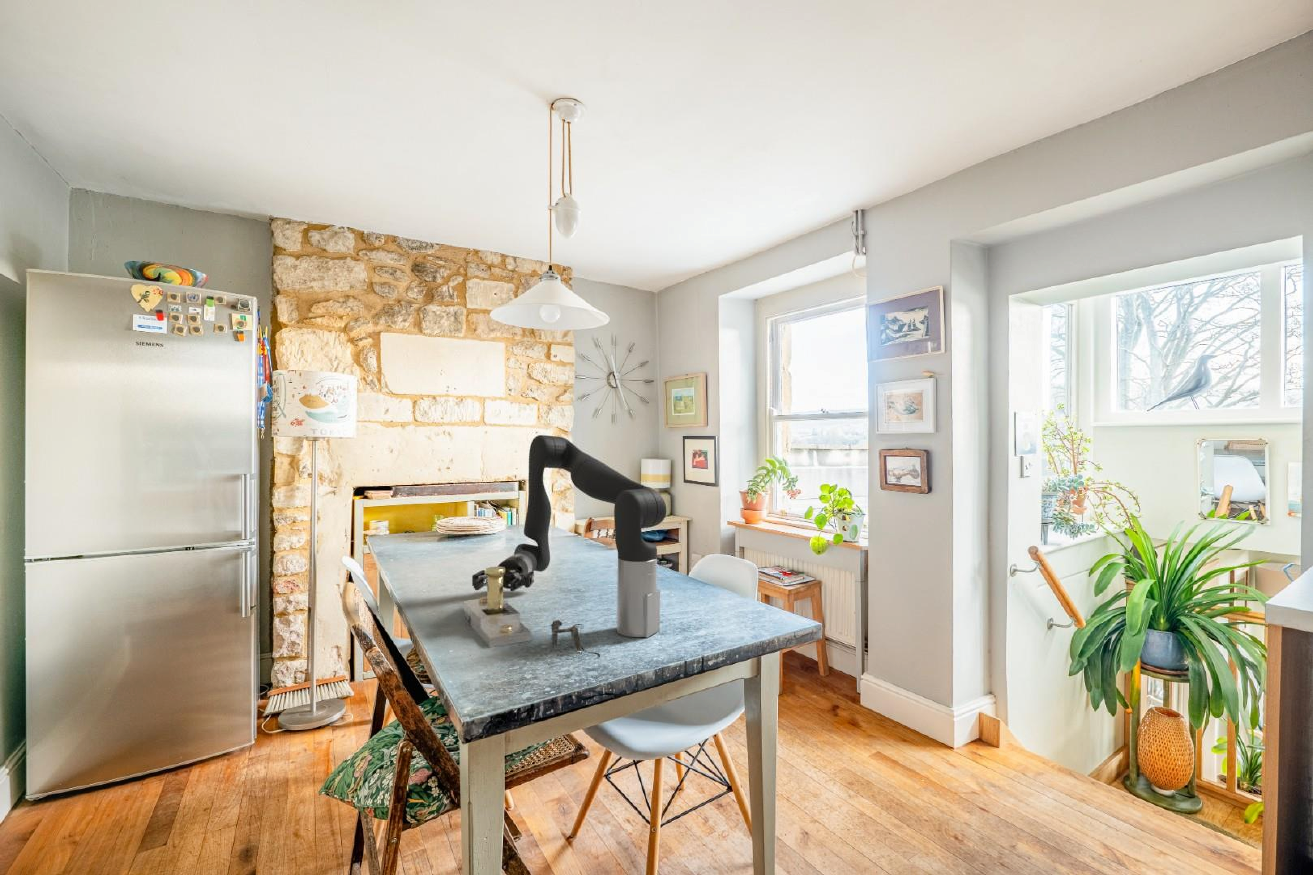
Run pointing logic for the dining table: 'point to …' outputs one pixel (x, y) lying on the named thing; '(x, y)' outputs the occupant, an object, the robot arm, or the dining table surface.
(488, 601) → the pin
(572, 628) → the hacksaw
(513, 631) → the gray block
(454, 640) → the dining table surface
